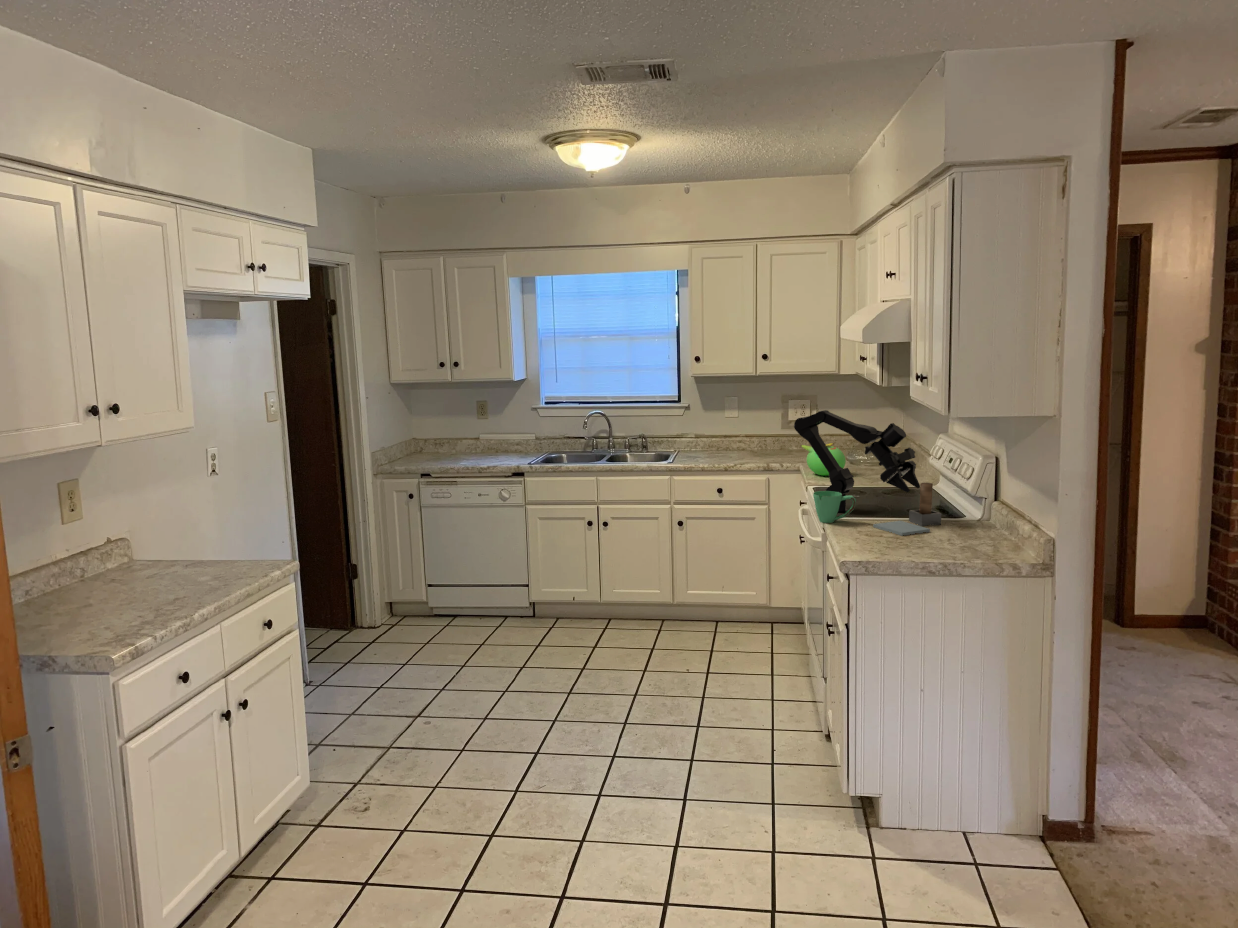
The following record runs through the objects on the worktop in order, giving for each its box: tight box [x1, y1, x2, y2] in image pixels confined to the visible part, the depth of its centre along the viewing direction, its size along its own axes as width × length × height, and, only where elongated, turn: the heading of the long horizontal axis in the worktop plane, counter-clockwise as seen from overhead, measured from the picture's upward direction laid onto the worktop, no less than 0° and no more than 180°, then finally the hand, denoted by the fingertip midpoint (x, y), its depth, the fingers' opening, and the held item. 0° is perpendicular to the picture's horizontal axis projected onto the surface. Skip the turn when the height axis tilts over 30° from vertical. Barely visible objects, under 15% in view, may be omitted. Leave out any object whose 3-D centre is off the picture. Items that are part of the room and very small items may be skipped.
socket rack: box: [908, 509, 942, 527], centre depth 306 cm, size 8×8×4 cm
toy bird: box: [801, 442, 846, 477], centre depth 401 cm, size 18×17×15 cm
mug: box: [812, 490, 857, 524], centre depth 309 cm, size 15×10×10 cm
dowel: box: [918, 482, 934, 514], centre depth 306 cm, size 4×4×14 cm
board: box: [872, 520, 931, 537], centre depth 298 cm, size 14×12×1 cm
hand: (914, 489), depth 308 cm, fingers open, 9 cm apart
